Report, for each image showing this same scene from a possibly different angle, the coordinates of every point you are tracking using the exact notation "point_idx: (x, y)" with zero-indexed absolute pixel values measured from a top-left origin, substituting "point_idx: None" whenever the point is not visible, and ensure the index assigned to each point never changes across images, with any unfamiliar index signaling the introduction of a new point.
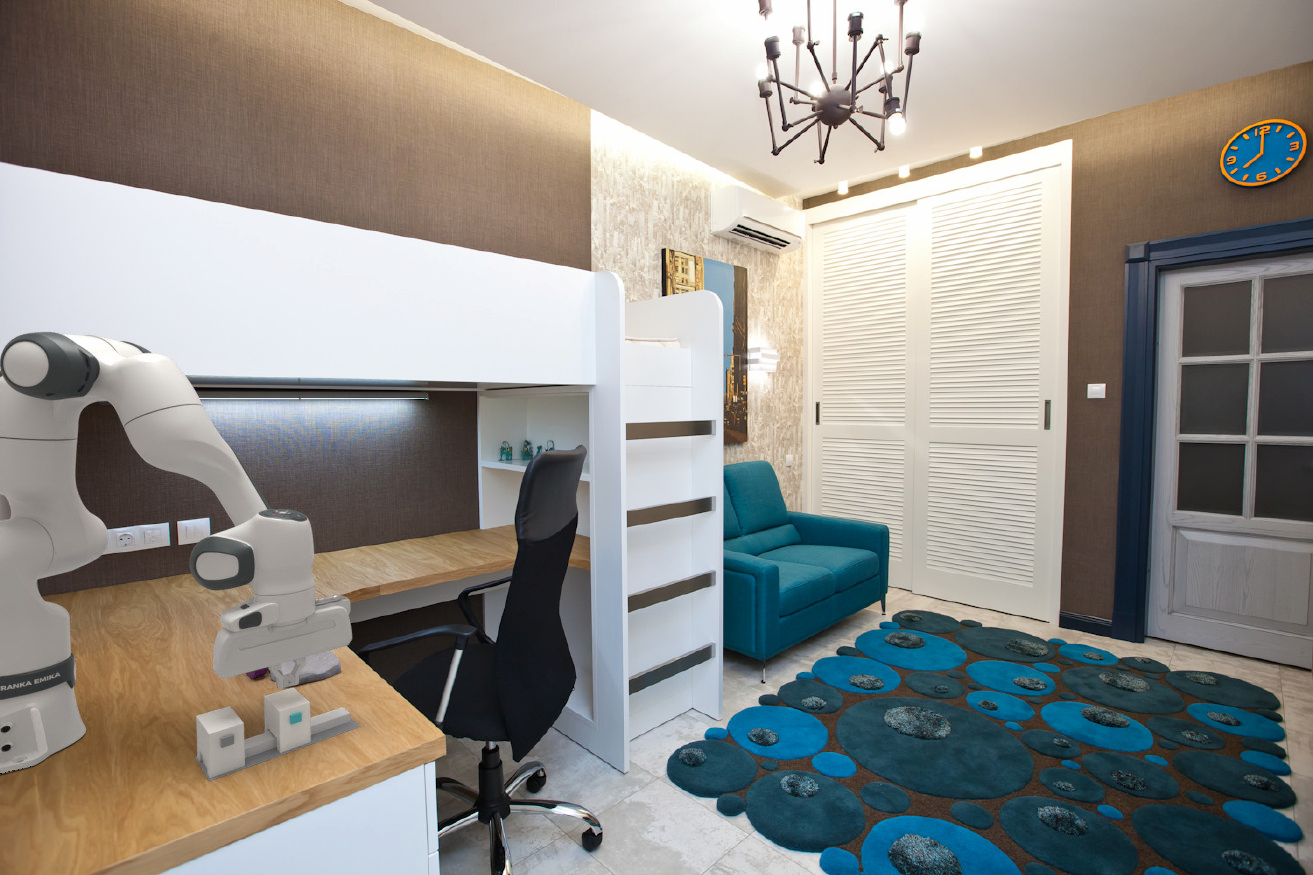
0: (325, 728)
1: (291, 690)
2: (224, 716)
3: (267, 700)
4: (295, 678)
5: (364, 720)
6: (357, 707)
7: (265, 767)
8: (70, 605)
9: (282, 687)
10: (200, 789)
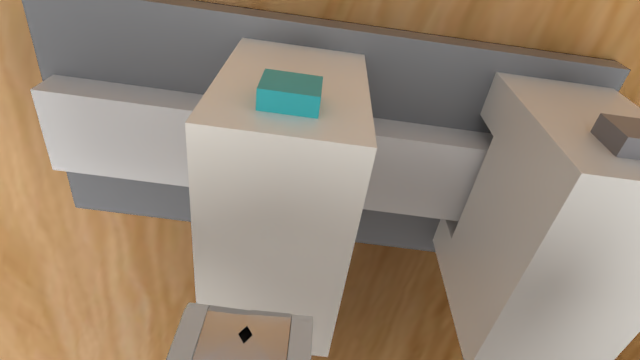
0: (158, 91)
1: None
2: (552, 310)
3: (335, 316)
4: (197, 344)
5: (6, 69)
6: (19, 186)
7: (429, 30)
8: None
9: (297, 318)
10: (633, 75)
